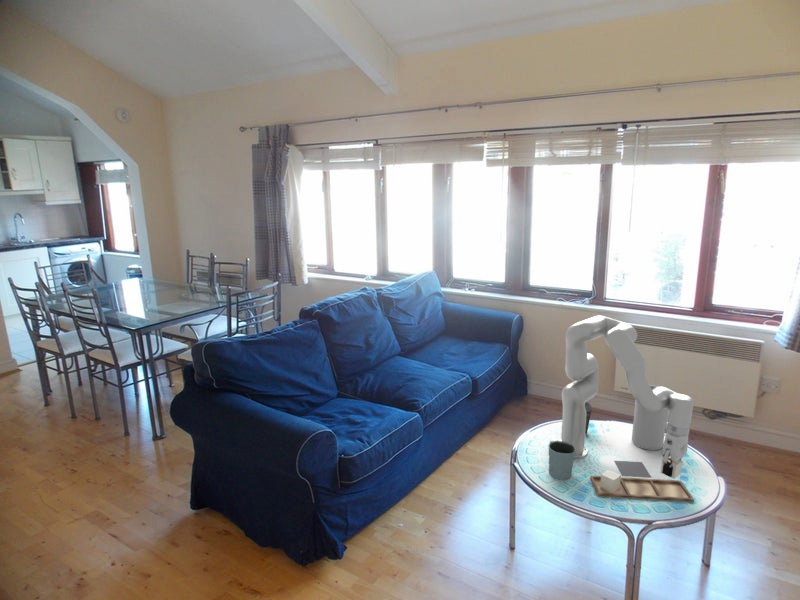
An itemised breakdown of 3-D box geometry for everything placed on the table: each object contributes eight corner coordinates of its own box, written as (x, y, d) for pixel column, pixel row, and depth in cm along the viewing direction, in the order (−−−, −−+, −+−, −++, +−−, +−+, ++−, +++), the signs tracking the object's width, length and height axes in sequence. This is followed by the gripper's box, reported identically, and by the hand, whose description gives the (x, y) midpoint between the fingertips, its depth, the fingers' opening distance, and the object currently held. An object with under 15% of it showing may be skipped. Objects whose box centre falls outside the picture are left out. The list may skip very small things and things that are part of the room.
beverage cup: (585, 437, 226) (588, 396, 222) (570, 431, 232) (573, 391, 227) (593, 432, 231) (596, 391, 226) (578, 426, 236) (581, 387, 232)
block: (619, 488, 188) (620, 475, 187) (612, 493, 185) (613, 480, 184) (607, 482, 192) (608, 469, 191) (600, 487, 189) (601, 474, 188)
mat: (621, 476, 196) (622, 475, 196) (613, 461, 207) (614, 460, 206) (651, 478, 195) (651, 477, 194) (641, 462, 205) (642, 462, 205)
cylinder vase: (646, 452, 213) (651, 398, 207) (625, 438, 224) (630, 387, 218) (669, 448, 216) (676, 394, 210) (648, 434, 228) (653, 383, 222)
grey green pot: (541, 471, 201) (543, 444, 198) (559, 464, 205) (561, 438, 203) (561, 484, 192) (562, 456, 189) (579, 476, 197) (581, 449, 194)
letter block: (680, 474, 184) (682, 460, 183) (674, 479, 181) (676, 465, 180) (666, 467, 188) (668, 454, 187) (660, 472, 185) (662, 459, 184)
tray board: (597, 497, 184) (598, 493, 184) (590, 478, 195) (590, 475, 195) (693, 502, 180) (694, 499, 179) (680, 483, 191) (680, 480, 190)
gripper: (677, 439, 172) (670, 485, 177) (698, 424, 182) (691, 468, 187) (655, 431, 178) (649, 475, 182) (677, 417, 188) (671, 459, 192)
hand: (670, 471), depth 184 cm, fingers closed on letter block, 5 cm apart
